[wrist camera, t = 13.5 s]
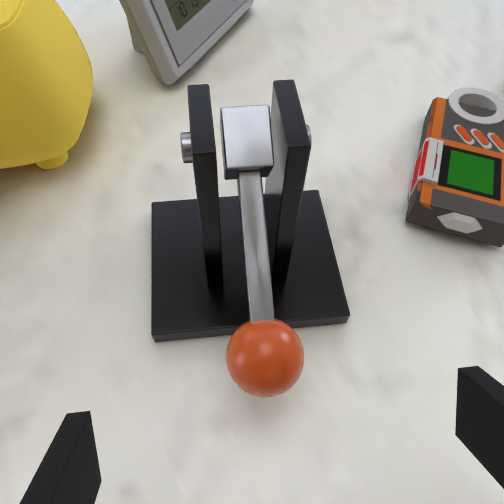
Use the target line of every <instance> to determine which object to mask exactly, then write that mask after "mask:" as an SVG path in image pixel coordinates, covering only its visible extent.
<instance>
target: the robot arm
mask: <svg viewBox="0 0 504 504" xmlns="http://www.w3.org/2000/svg"><path fill="white" fill-rule="evenodd" d="M455 435H456V436H457V437H458V438H459V439H460V440H461V442H462V443H463V444H464V445H465V446H466V447H467V448H468V449H469V451H470V452H471V453H472V454H473V455H474V456H475V457H476V458H477V459H478V461H479V462H480V463H481V464H482V465H483V466H484V467H485V468H486V470H487V471H488V472H489V473H490V474H491V475H492V476H493V477H494V479H495V480H496V481H497V482H498V483H499V484H500V485H501V486H502V488H503V489H504V386H503V385H502V384H501V383H499V382H498V381H497V380H495V379H494V378H493V377H492V376H490V375H489V374H488V373H486V372H485V371H484V370H483V369H481V368H480V367H479V366H472V367H464V368H458V382H457V407H456V433H455ZM100 484H101V475H100V469H99V463H98V456H97V450H96V444H95V438H94V432H93V426H92V420H91V414H90V411H85V412H76V413H68V414H66V416H65V418H64V420H63V422H62V424H61V426H60V428H59V430H58V431H57V433H56V435H55V437H54V439H53V441H52V443H51V445H50V447H49V449H48V451H47V452H46V454H45V456H44V458H43V460H42V462H41V464H40V466H39V468H38V470H37V472H36V474H35V475H34V477H33V479H32V481H31V483H30V485H29V487H28V489H27V491H26V493H25V495H24V496H23V498H22V500H21V502H20V504H94V503H95V500H96V497H97V493H98V490H99V487H100Z"/></svg>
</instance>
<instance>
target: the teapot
mask: <svg viewBox="0 0 504 504" xmlns="http://www.w3.org/2000/svg"><path fill="white" fill-rule="evenodd" d="M92 89H93V82H92V68H91V63H90V60H89V57H88V54H87V52H86V50H85V48H84V45H83V43H82V41H81V39H80V38H79V36H78V34H77V32H76V30H75V28H74V26H73V25H72V23H71V22H70V20H69V19H68V17H67V16H66V14H65V13H64V12H63V10H62V9H61V8H60V6H59V5H58V4H57V3H56V2H55V0H0V169H3V168H11V167H18V166H23V165H28V164H33V163H36V165H37V166H38V167H40V168H42V169H55V168H58V167H60V166H62V165H63V164H64V163H65V162H66V161H67V159H68V152H67V151H68V150H69V149H71V148H72V147H73V146H74V145H75V143H76V142H77V141H78V139H79V136H80V134H81V132H82V129H83V127H84V124H85V121H86V118H87V114H88V111H89V107H90V103H91V98H92Z"/></svg>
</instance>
